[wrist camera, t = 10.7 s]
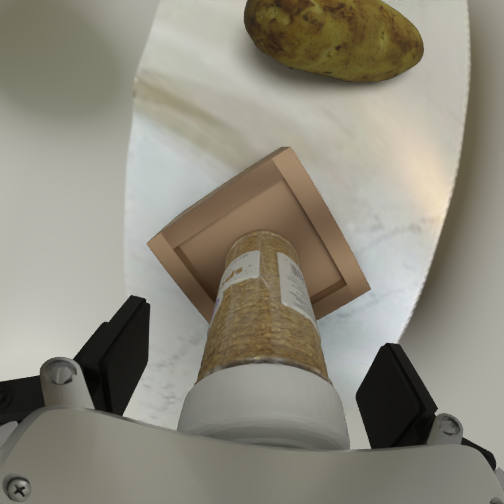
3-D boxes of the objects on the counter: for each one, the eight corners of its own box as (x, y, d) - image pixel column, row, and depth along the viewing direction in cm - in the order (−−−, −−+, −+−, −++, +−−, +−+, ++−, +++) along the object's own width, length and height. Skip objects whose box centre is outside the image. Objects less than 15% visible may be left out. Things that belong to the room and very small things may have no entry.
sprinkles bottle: (222, 231, 18) (145, 416, 5) (298, 226, 18) (370, 410, 5) (229, 299, 19) (193, 497, 7) (300, 295, 19) (339, 493, 7)
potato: (389, 122, 21) (442, 117, 13) (236, 66, 20) (225, 28, 12) (411, 43, 18) (461, 16, 10) (268, -13, 17) (271, -67, 9)
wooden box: (343, 251, 24) (371, 289, 18) (244, 308, 26) (239, 358, 20) (281, 146, 22) (290, 146, 15) (176, 216, 24) (146, 243, 17)
